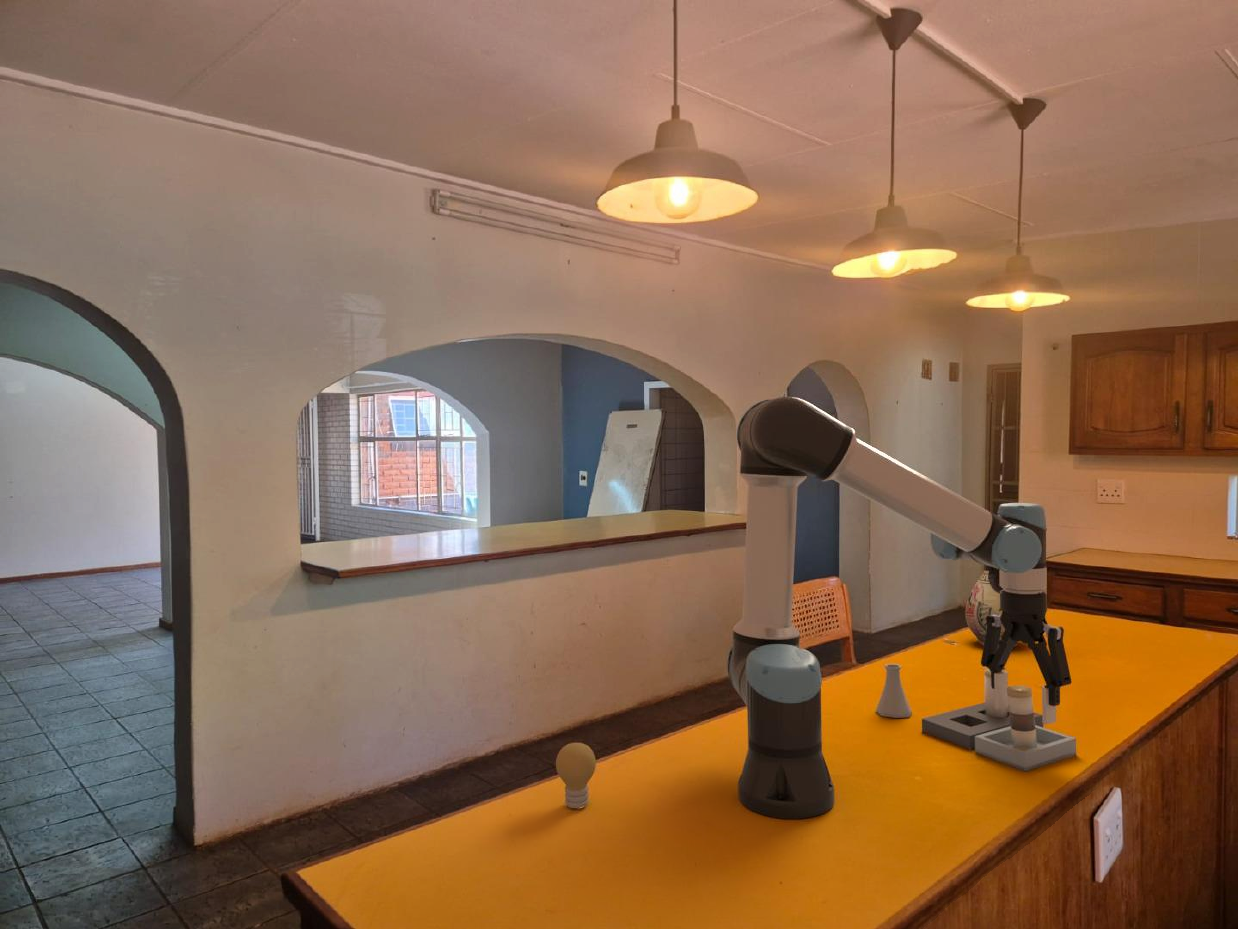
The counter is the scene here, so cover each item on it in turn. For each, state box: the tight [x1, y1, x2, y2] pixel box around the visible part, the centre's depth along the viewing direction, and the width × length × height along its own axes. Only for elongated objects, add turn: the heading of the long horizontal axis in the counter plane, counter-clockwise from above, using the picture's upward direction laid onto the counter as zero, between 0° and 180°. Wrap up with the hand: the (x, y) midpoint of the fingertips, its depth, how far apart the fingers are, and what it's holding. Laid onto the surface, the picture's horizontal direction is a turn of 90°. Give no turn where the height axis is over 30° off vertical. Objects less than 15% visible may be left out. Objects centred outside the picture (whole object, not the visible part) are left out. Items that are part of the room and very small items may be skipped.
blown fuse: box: [1007, 685, 1037, 751], centre depth 146 cm, size 4×4×11 cm
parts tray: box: [974, 725, 1077, 773], centre depth 147 cm, size 14×10×3 cm
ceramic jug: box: [964, 565, 1018, 648], centre depth 221 cm, size 17×15×30 cm
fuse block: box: [921, 702, 1044, 750], centre depth 159 cm, size 21×11×2 cm, turn 118°
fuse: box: [984, 667, 1008, 719], centre depth 161 cm, size 4×4×11 cm
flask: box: [875, 663, 913, 719], centre depth 170 cm, size 7×7×10 cm
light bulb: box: [555, 742, 597, 809], centre depth 130 cm, size 6×6×10 cm
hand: (1024, 715), depth 146 cm, fingers open, 9 cm apart
